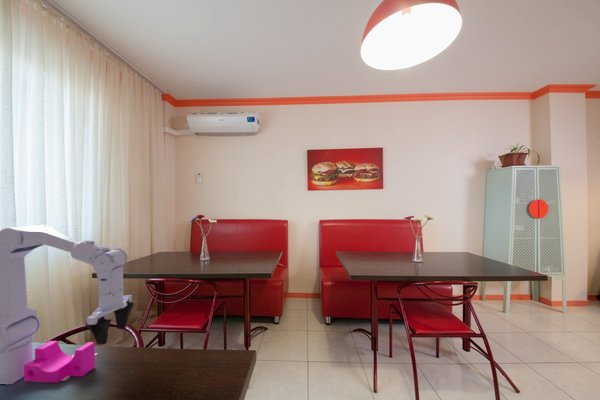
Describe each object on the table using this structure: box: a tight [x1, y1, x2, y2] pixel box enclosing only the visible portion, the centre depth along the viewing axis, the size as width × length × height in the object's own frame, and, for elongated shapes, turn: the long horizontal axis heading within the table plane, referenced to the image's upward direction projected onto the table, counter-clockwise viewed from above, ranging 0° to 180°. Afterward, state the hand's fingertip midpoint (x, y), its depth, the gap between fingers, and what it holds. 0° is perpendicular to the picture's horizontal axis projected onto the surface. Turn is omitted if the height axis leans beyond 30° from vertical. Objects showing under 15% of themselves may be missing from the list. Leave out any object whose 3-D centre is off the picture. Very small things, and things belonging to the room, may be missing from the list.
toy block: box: [23, 340, 96, 384], centre depth 66 cm, size 15×6×8 cm, turn 85°
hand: (112, 335), depth 68 cm, fingers open, 7 cm apart
